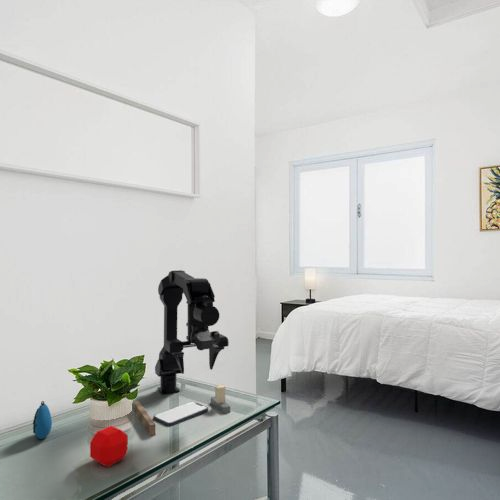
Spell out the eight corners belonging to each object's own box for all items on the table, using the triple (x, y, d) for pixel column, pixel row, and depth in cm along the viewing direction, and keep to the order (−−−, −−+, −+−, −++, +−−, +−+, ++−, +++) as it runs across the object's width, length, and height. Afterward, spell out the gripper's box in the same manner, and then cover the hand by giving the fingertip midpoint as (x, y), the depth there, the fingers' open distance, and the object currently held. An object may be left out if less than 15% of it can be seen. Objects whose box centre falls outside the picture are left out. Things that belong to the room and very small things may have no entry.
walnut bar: (133, 410, 139) (133, 401, 138) (138, 409, 139) (138, 400, 139) (150, 435, 121) (150, 425, 121) (155, 434, 122) (155, 424, 121)
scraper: (210, 403, 146) (210, 382, 145) (217, 402, 147) (217, 381, 147) (223, 413, 137) (223, 391, 137) (230, 412, 138) (230, 390, 138)
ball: (133, 459, 108) (132, 429, 108) (104, 473, 101) (104, 441, 101) (113, 450, 113) (113, 421, 112) (85, 462, 106) (85, 431, 106)
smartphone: (168, 429, 127) (210, 412, 138) (168, 424, 127) (210, 407, 138) (151, 421, 133) (192, 405, 144) (151, 415, 133) (192, 400, 144)
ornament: (35, 432, 123) (35, 397, 123) (53, 429, 125) (53, 395, 124) (30, 445, 115) (30, 407, 115) (49, 442, 117) (49, 405, 116)
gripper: (175, 327, 120) (175, 383, 121) (236, 322, 129) (236, 374, 129) (164, 321, 130) (164, 372, 131) (221, 316, 139) (221, 364, 139)
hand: (197, 371), depth 132 cm, fingers open, 9 cm apart
